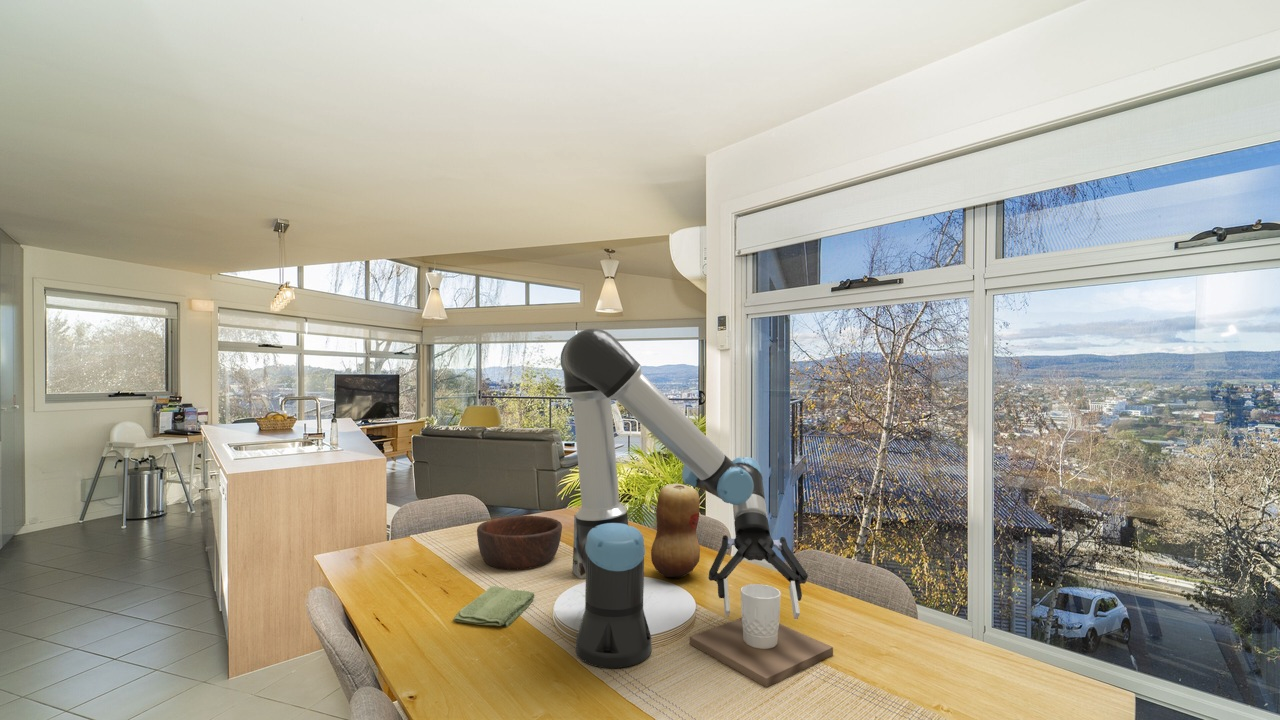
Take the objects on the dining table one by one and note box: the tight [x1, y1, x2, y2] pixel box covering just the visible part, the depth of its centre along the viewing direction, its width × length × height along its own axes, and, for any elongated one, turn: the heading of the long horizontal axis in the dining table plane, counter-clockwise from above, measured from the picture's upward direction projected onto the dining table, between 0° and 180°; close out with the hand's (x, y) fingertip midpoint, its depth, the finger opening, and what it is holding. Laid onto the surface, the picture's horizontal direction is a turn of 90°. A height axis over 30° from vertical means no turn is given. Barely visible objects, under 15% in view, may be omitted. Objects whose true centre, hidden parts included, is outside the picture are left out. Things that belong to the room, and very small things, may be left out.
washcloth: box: [453, 585, 536, 628], centre depth 128 cm, size 13×18×3 cm
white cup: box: [740, 583, 781, 649], centre depth 111 cm, size 8×8×10 cm
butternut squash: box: [650, 483, 701, 579], centre depth 153 cm, size 14×13×25 cm
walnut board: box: [689, 617, 834, 688], centre depth 111 cm, size 20×20×2 cm
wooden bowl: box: [476, 515, 563, 571], centre depth 166 cm, size 25×25×10 cm
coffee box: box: [572, 514, 586, 580], centre depth 154 cm, size 9×6×16 cm
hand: (762, 615), depth 109 cm, fingers open, 13 cm apart
